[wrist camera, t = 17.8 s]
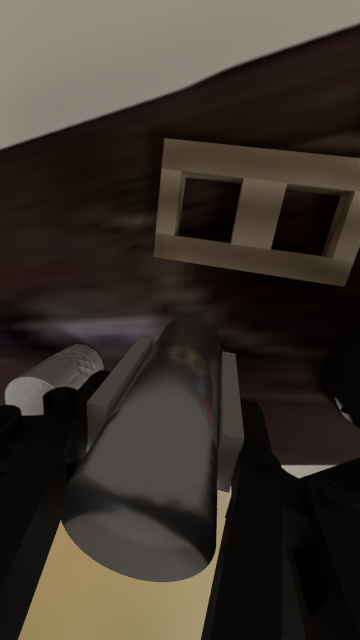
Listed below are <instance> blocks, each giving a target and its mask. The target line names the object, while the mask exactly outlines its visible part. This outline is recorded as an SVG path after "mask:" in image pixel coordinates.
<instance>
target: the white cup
mask: <svg viewBox="0 0 360 640" xmlns="http://www.w3.org/2000/svg"><path fill="white" fill-rule="evenodd" d="M100 370H104V365H103V362H102V358H101V357H100V356H99V355H98V353H97V352H96V351H95V350H94V349H92V348H90V347H89V346H87V345H82V344H74V345H71V346H69V347H67V348H65V349H64V350H62V351H60V352H58V353H56V354H54V355H53V356H51V357H49V358H48V359H46V360H44V361H43V362H41V363H39V364H38V365H36V366H35V367H33V368H32V369H30V370H28V371H27V372H25V373H24V374H22V375H20V376H19V377H17V378H16V379H14V380H12V381H11V382H10V383H9V384H8V386H7V388H6V391H5V402H6V405H15V406H17V407H19V408H20V410H21V413H22V416H26V415H43V414H44V410H43V395H44V394H45V393H46V392H48V391H50V390H52V389H54V388H58V387H72V388H75V389H76V390H78V389H79V388H80V387H82V385H83V384H84V382H86V380H87V379H88V378H89V377H90V376H91V375H92V374H94V373H96V372H98V371H100Z"/></svg>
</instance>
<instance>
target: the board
mask: <svg viewBox="0 0 360 640" xmlns="http://www.w3.org/2000/svg"><path fill="white" fill-rule="evenodd" d="M186 178H194V179H202V180H211V181H219V182H227V183H236V184H241V190H240V195H239V200H238V205H237V210H236V215H235V220H234V226H233V231H232V236H231V241H230V243H227V242H220V241H213V240H206V239H199V238H192V237H185V236H179V229H180V221H181V213H182V205H183V197H184V189H185V181H186ZM285 190H295V191H303V192H312V193H320V194H328V195H337V196H340V199H339V202H338V206H337V209H336V212H335V215H334V218H333V221H332V224H331V227H330V230H329V233H328V236H327V240H326V243H325V246H324V249H323V252H322V255H321V256H316V255H309V254H302V253H296V252H289V251H282V250H275V249H271V246H272V242H273V238H274V234H275V230H276V226H277V222H278V218H279V214H280V210H281V206H282V202H283V198H284V194H285ZM359 247H360V158H352V157H342V156H333V155H323V154H313V153H303V152H294V151H284V150H274V149H264V148H254V147H245V146H235V145H225V144H215V143H206V142H196V141H186V140H176V139H167V138H164V149H163V159H162V170H161V181H160V192H159V202H158V213H157V224H156V235H155V246H154V256H153V257H157V258H163V259H170V260H176V261H183V262H189V263H195V264H202V265H208V266H215V267H221V268H228V269H234V270H240V271H247V272H253V273H260V274H266V275H272V276H279V277H285V278H292V279H298V280H304V281H311V282H317V283H324V284H330V285H337V286H343V287H345V284H346V282H347V279H348V276H349V274H350V271H351V268H352V266H353V263H354V260H355V258H356V255H357V252H358V249H359Z"/></svg>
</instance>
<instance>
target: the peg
mask: <svg viewBox="0 0 360 640" xmlns="http://www.w3.org/2000/svg"><path fill="white" fill-rule="evenodd" d="M219 381H220V340H219V336H218V334H217V332H216V331H215V329H214V328H213V327H212V326H211V325H210V324H209V323H207V322H206V321H204V320H202V319H199V318H196V317H181V318H178V319H175V320H173V321H172V322H170V323H169V324H168V325H167V326H166V327H165V329H164V330H163V332H162V333H161V335H160V336H159V338H158V340H157V341H156V343H155V344H154V346H153V348H152V349H151V351H150V352H149V354H148V356H147V357H146V359H145V360H144V362H143V364H142V365H141V367H140V368H139V370H138V372H137V373H136V375H135V376H134V378H133V380H132V381H131V383H130V384H129V386H128V388H127V389H126V391H125V392H124V394H123V396H122V397H121V399H120V400H119V402H118V404H117V405H116V407H115V408H114V410H113V412H112V413H111V415H110V416H109V418H108V420H107V421H106V423H105V424H104V426H103V428H102V429H101V431H100V432H99V434H98V436H97V437H96V439H95V440H94V442H93V444H92V445H91V447H90V448H89V450H88V452H87V453H86V455H85V456H84V458H83V460H82V461H81V463H80V464H79V466H78V468H77V469H76V471H75V472H74V474H73V476H72V477H71V479H70V480H69V482H68V484H67V485H66V487H65V488H64V490H63V492H62V494H61V497H60V501H59V513H60V518H61V521H62V524H63V526H64V528H65V530H66V531H67V533H68V535H69V536H70V538H71V539H72V540H73V542H74V543H75V544H76V545H77V546H78V547H79V548H80V549H81V550H82V551H83V552H85V553H86V554H87V555H88V556H90V557H91V558H92V559H93V560H95V561H96V562H98V563H100V564H101V565H103V566H105V567H107V568H109V569H111V570H113V571H115V572H117V573H120V574H122V575H125V576H128V577H132V578H135V579H139V580H145V581H153V582H173V581H178V580H184V579H187V578H190V577H192V576H194V575H196V574H198V573H200V572H201V571H203V570H204V569H205V568H206V567H207V566H208V565H209V563H210V562H211V561H212V559H213V556H214V554H215V549H216V527H217V480H218V427H219Z"/></svg>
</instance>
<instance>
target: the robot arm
mask: <svg viewBox="0 0 360 640" xmlns="http://www.w3.org/2000/svg"><path fill="white" fill-rule="evenodd" d="M152 340H153V338H150V337H145V336H140V337H139V339H138V340H137V341H136V342H135V344H134V345H133V346H132V347H131V349H130V350H129V351H128V352H127V353H126V355H125V356H124V357H123V358H122V360H121V361H120V362H119V363H118V365H117V366H116V367H115V368H114V369H113V371H112V372H109V371H104V370H100V371H98V372H96V373H94V374H92V375H91V376H90V377H89V378H88V379H87V380H86V382H84V384H83V385H82V387H80V388H79V389H78V390H76V389H75V388H72V387H58V388H54V389H52V390H50V391H48V392H46V393H45V394H44V395H43V410H44V414H43V415H26V416H22V413H21V410H20V408H19V407H17V406H15V405H2V406H0V640H18V638H19V635H20V632H21V630H22V626H23V624H24V621H25V618H26V615H27V613H28V610H29V607H30V604H31V602H32V598H33V596H34V593H35V590H36V588H37V585H38V582H39V579H40V576H41V574H42V571H43V568H44V565H45V562H46V560H47V556H48V554H49V551H50V548H51V546H52V543H53V540H54V537H55V534H56V531H57V529H58V526H59V523H60V520H61V518H60V513H59V501H60V497H61V494H62V492H63V490H64V488H65V487H66V485H67V484H68V482H69V480H70V479H71V477H72V476H73V474H74V472H75V471H76V469H77V468H78V466H79V464H80V462H81V455H82V453H83V451H84V450H85V448H86V447H87V452H88V450H89V448H90V447H91V445H92V444H93V442H94V440H95V439H96V437H97V436H98V434H99V432H100V431H101V429H102V428H103V426H104V424H105V423H106V421H107V420H108V418H109V416H110V415H111V413H112V412H113V410H114V408H115V407H116V405H117V404H118V402H119V400H120V399H121V397H122V396H123V394H124V392H125V391H126V389H127V388H128V386H129V384H130V383H131V381H132V380H133V378H134V376H135V375H136V373H137V372H138V370H139V368H140V367H141V365H142V364H143V362H144V360H145V359H146V357H147V356H148V354H149V352H150V351H151V349H152ZM324 383H325V388H326V391H327V393H328V395H329V397H330V399H331V400H332V402H333V403H334V405H335V406H336V408H337V409H338V410H339V412H340V413H341V414H342V415H343V416H344V417H345V418H346V419H347V420H348V421H350V422H351V423H352V424H354V425H355V426H357V427H358V428H359V429H360V325H359V326H358V327H356V328H355V329H353V330H352V331H350V332H349V333H348V334H346V335H345V336H344V337H343V338H342V339H341V340H340V341H339V342H338V343H337V344H336V346H335V347H334V348H333V350H332V352H331V353H330V355H329V357H328V359H327V362H326V365H325V370H324ZM230 486H231V490H232V496H231V499H230V502H229V506H228V509H227V512H226V516H225V518H226V521H225V526H224V531H223V535H222V540H221V546H220V550H219V555H218V560H217V564H216V569H215V574H214V579H213V584H212V589H211V594H210V598H209V603H208V608H207V613H206V618H205V622H204V627H203V632H202V637H201V640H360V458H357V459H354V460H351V461H348V462H345V463H343V464H340V465H337V466H334V467H332V468H328V469H325V470H322V471H320V472H317V473H314V474H311V475H308V476H305V477H302V478H297V477H295V476H293V475H291V474H290V473H288V472H286V471H285V470H284V469H283V468H282V467H281V464H280V462H279V461H278V459H277V457H275V456H274V455H273V454H272V450H271V446H270V441H269V437H268V433H267V428H266V424H265V420H264V415H263V411H262V409H261V408H260V406H259V405H258V403H257V402H254V401H249V400H244V399H240V393H239V384H238V375H237V365H236V356H235V354H234V353H229V352H222V357H221V361H220V381H219V427H218V480H217V490H221V491H225V492H229V489H230Z"/></svg>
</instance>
